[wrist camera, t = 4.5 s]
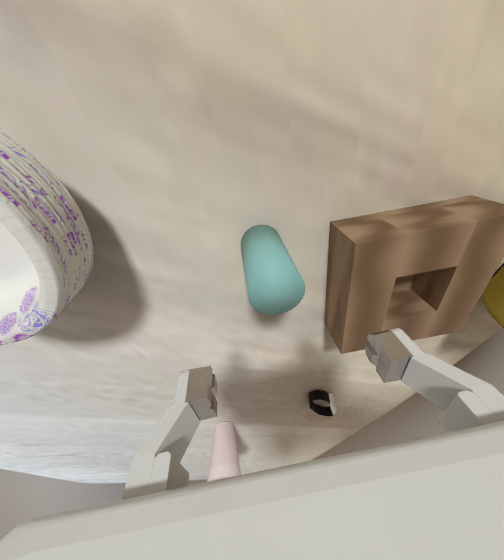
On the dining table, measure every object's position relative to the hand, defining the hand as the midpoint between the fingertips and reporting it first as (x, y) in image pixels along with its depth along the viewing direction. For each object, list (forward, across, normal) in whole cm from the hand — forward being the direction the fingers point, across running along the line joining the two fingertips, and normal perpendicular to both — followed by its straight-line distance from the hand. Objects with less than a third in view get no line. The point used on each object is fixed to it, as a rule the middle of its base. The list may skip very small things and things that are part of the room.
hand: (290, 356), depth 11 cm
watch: (+14, -8, +33) cm, 36 cm away
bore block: (+13, -14, +6) cm, 20 cm away
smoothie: (+14, +11, +37) cm, 41 cm away
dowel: (+13, 0, 0) cm, 13 cm away
